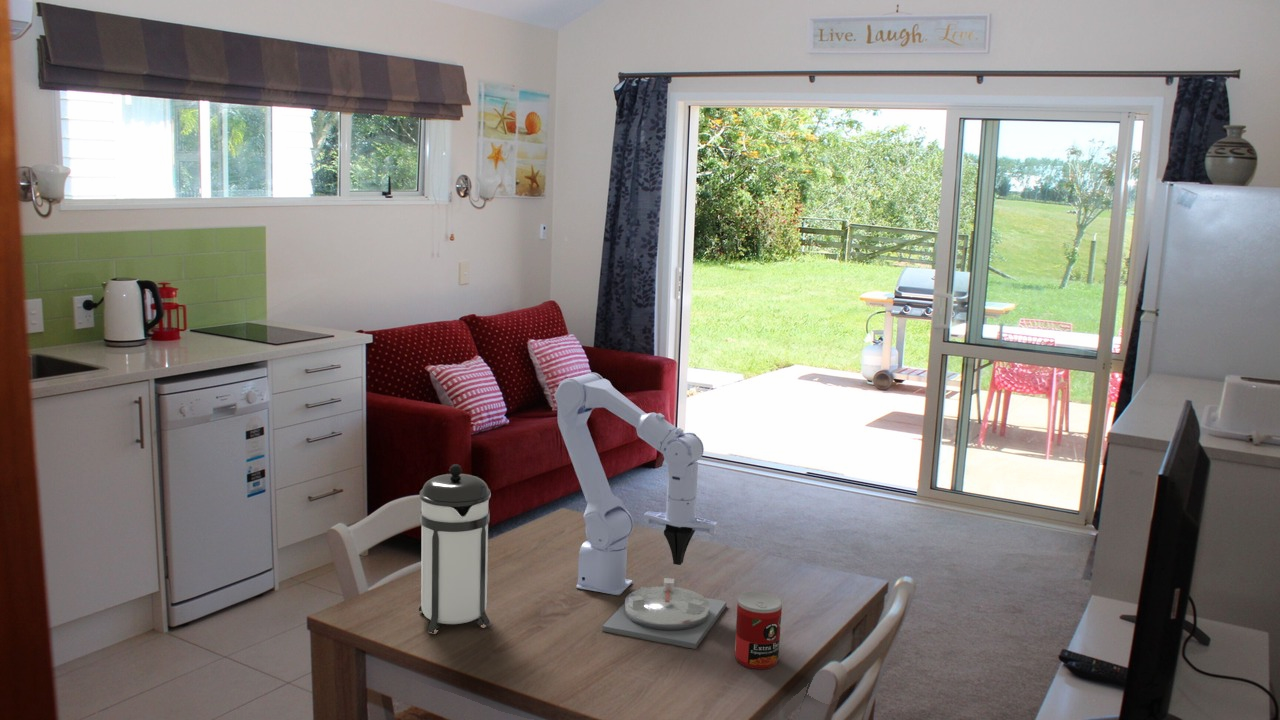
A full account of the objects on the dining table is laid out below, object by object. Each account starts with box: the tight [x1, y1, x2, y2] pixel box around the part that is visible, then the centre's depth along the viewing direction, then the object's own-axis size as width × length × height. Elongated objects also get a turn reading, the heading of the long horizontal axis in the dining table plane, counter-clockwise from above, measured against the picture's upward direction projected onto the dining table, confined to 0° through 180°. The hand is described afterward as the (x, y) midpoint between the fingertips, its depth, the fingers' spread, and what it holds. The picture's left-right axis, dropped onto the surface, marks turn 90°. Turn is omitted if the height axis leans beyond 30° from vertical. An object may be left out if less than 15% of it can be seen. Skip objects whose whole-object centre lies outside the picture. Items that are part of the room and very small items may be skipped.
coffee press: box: [418, 463, 492, 633], centre depth 191 cm, size 17×16×30 cm
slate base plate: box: [601, 586, 727, 650], centre depth 197 cm, size 18×21×1 cm
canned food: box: [734, 591, 783, 670], centre depth 180 cm, size 8×8×11 cm
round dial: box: [624, 577, 709, 630], centre depth 196 cm, size 16×16×4 cm
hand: (678, 563), depth 202 cm, fingers closed
